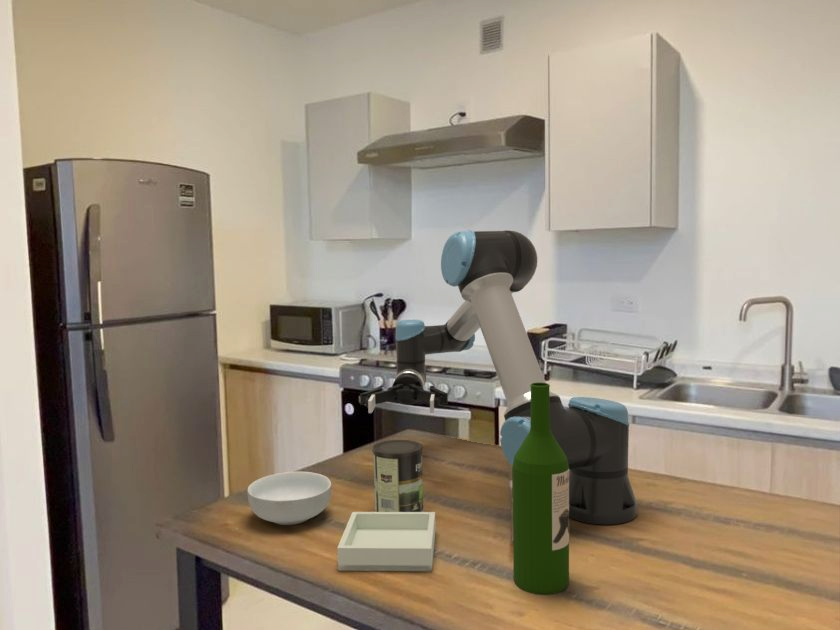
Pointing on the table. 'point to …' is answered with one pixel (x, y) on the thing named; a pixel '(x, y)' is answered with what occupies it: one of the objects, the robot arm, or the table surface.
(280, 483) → the cereal bowl
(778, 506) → the table surface
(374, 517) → the tray
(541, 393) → the wine bottle
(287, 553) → the table surface
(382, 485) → the coffee can
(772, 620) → the table surface
